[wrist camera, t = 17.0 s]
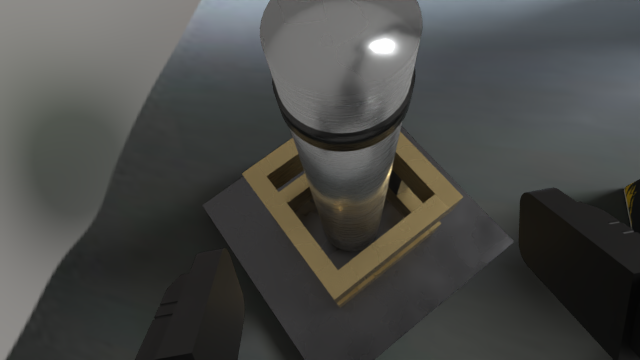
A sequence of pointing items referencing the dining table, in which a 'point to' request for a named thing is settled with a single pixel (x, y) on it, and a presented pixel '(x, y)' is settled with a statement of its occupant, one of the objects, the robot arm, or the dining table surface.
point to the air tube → (344, 100)
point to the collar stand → (354, 252)
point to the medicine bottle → (633, 204)
